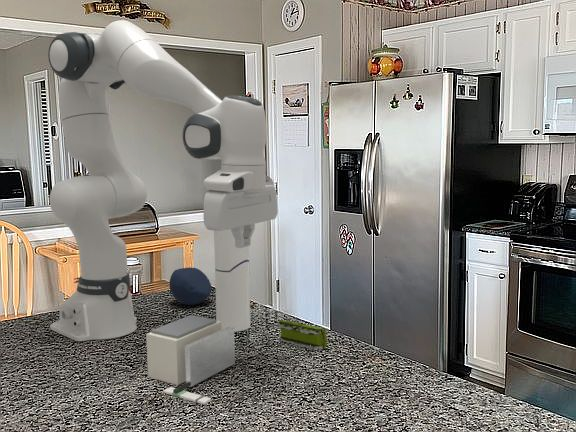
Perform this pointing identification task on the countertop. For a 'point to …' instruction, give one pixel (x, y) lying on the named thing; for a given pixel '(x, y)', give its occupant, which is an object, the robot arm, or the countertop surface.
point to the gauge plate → (208, 356)
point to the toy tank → (302, 334)
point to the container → (231, 282)
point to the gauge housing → (176, 351)
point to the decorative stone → (190, 286)
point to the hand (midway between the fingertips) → (242, 246)
